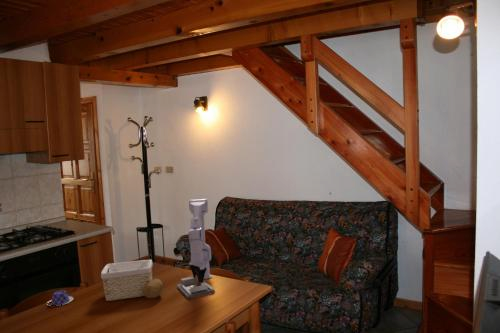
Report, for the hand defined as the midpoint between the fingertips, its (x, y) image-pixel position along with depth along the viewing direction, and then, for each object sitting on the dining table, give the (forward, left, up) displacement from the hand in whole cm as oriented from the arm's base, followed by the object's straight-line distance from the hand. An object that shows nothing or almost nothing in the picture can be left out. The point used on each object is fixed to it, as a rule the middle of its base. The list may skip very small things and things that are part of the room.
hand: (198, 280), depth 197 cm
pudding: (-30, -62, -8) cm, 69 cm away
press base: (-6, 0, -7) cm, 9 cm away
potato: (-10, -20, -7) cm, 24 cm away
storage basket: (-21, -30, -7) cm, 37 cm away
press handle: (0, 0, -5) cm, 5 cm away
